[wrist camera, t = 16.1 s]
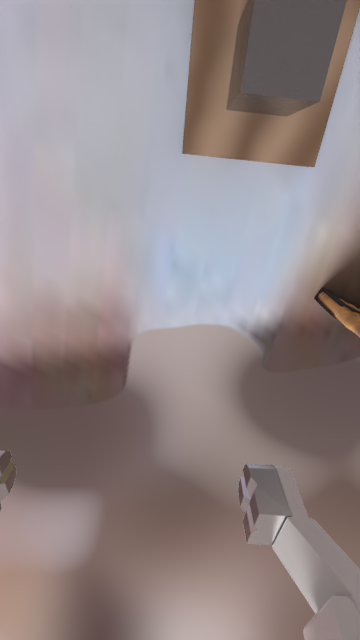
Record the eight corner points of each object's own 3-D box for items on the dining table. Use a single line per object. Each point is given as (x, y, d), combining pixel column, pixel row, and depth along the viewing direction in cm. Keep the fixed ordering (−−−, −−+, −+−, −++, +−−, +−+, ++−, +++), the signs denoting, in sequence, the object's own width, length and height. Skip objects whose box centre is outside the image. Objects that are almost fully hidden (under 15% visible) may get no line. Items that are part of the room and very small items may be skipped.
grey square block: (226, 109, 27) (240, 92, 21) (237, 24, 24) (258, -28, 18) (286, 116, 27) (319, 101, 21) (305, 32, 24) (351, -16, 18)
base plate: (182, 153, 30) (182, 153, 29) (197, -40, 23) (199, -52, 22) (308, 166, 31) (314, 166, 29) (359, -19, 24) (370, -29, 23)
